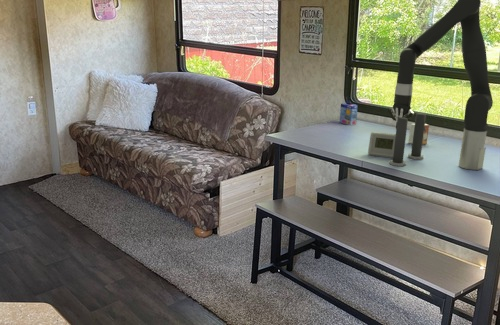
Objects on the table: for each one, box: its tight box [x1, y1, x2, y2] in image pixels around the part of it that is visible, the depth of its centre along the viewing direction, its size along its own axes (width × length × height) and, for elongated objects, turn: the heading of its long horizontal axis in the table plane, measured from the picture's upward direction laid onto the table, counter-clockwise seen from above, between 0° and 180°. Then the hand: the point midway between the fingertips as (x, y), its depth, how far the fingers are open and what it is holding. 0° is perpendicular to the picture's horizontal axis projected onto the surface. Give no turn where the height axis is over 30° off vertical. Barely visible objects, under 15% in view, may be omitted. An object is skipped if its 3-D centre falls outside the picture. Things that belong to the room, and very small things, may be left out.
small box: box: [407, 123, 430, 145], centre depth 261 cm, size 8×6×10 cm
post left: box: [389, 117, 409, 167], centre depth 221 cm, size 7×7×21 cm
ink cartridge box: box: [339, 100, 359, 126], centre depth 307 cm, size 10×6×14 cm, turn 35°
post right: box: [407, 112, 427, 161], centre depth 233 cm, size 7×7×21 cm
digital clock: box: [367, 131, 396, 159], centre depth 236 cm, size 16×9×11 cm, turn 55°
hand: (398, 130), depth 231 cm, fingers closed
